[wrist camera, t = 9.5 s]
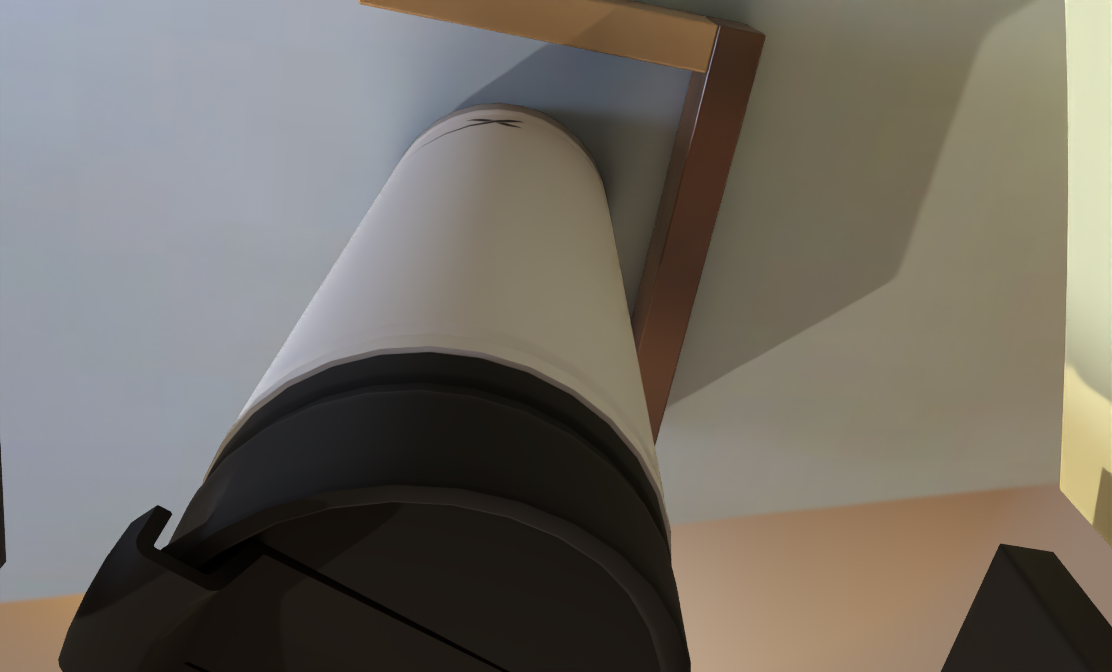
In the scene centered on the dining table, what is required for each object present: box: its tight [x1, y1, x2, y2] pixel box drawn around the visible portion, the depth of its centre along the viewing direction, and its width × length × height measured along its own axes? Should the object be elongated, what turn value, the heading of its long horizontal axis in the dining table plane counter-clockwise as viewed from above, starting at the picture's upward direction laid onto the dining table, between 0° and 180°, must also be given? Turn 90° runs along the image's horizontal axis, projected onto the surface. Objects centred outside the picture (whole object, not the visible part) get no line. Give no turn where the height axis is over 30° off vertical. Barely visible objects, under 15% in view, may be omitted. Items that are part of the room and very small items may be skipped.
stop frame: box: [358, 0, 765, 446], centre depth 27 cm, size 12×10×2 cm
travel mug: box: [58, 103, 691, 672], centre depth 19 cm, size 6×7×20 cm
